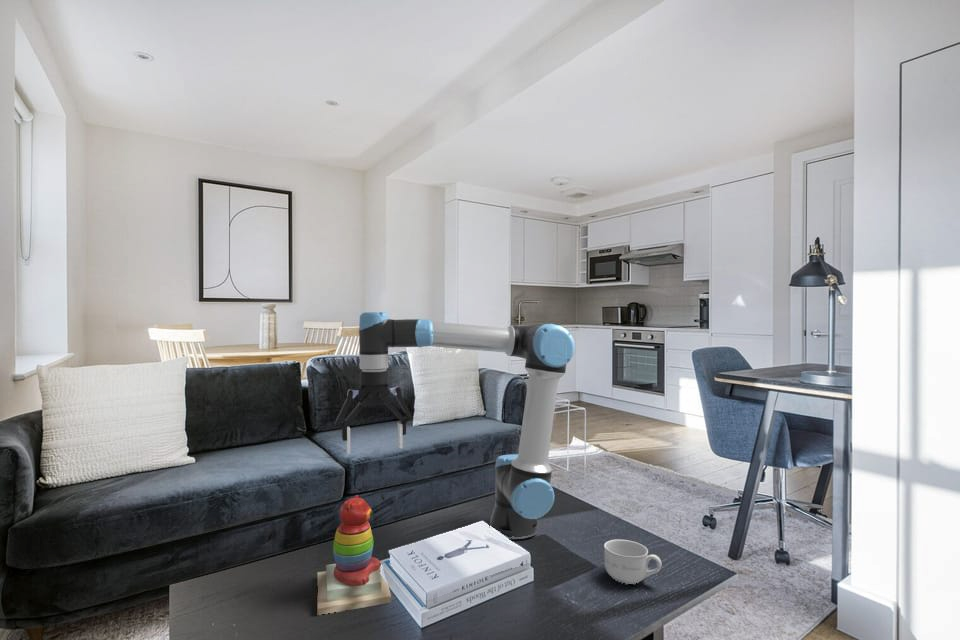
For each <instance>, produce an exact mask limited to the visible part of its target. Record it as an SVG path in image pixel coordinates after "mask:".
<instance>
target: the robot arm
mask: <svg viewBox="0 0 960 640" xmlns="http://www.w3.org/2000/svg"><path fill="white" fill-rule="evenodd" d="M358 337H359V338H358V339H359V340H358V341H359V342H358V344H359V370H361V371H360V372H359V387H358V389H357V390H356V389H350V388H348V390H347V392H346V398H345V400H344V402H343V405H342V407H341V409H340V410H339V412H338V414H337V417H336V418H335V420H334V426H335V427H338V428H340V429H341V440H342V442H346V443H345V445H346V447H345V448H346V450H345V451H346V454H347V455H351V428H350V424H351V423H352V422H353V421H354V420H355V418H356V417H357V416H358V415H359V413H361V411H362V410H363V409H364V408H365V406H368V407H373V406H381V405H383V404H384V405H385V406H386V407H387V408H388V409H389V410H390V411H391V412H392V413H393V415H394V416H396V418H398V420H399V421H398V422H397V447H398V448H399V449H403V448H404V447H403V445H404V444H403V443H404V442H403V437H404V436H406V435H407V424H408V422H410V421H413V419H414V417H413V414H412V413H411V411H410V409H409V407H408V405H407V403H406V402H405V400H404V398H403V396H402V389H401V387H399V386H394V387H391V388H390V387H389V371H388V370H387V369H389V348H424V347H431V348H443V349H444V348H445V349H446V348H447V349H458V350H471V351H483V352H496V353H504V354H506V356H508V357H516V358H521V359H524V360H525V365H524V369H525V371H526V372H527V373H528V380H527V386H526V387H527V389H526V394H525V395H526V396H525V400H524V401H525V402H524V409H523V416H522V417H523V418H522V424H521V429H520V430H521V431H520V437H519V438H520V439H519V445H518V453H517V454H514V453H513V454H504V455H500V456H497V458H496V460H495V466H494V468H495V488H494V490H495V492H494V493H495V494H494V495H495V499H494V500H495V502H494V507H493V510H492V512H491V516H490V519H489V526H490V525H491V526H492V527H493V528H495V529H496V530H498V531H500V532H501V533H502V534H504V535H506V536H508V537H512V536H514V537H522V536H528V535H531V534H533V533H535V532H536V531H537V529H538V530H539V522H538V519H539V518H542V517H543V516H544V515H546V514H547V513H549V511H550V510H551V509H552V507H553V505H554V502H555V492H554V488H553V485H551V481H552V471H553V468H552V466H551V465H550V464H549V463H548V462H549V454H550V446H551V439H552V432H553V426H554V425H553V424H554V418H555V411H556V410H555V409H556V404H557V403H556V402H557V396H558V389H559V381H560V379H561V378H562V377H564V375H566V369H567V364H568V363H569V362H570V361H571V360H572V358H573V357H574V354H575V341H574V338H573V336H572V334H571V333H570V332H569V330H568V329H566V328H564V327H563V326H561V325H558V324H554V323H546V324H545V323H543V324H540V323H536V324H529V325H528V324H527V325H514V324H512V325H508V326H507V327H498V326H488V325H487V326H485V325H475V324H474V325H473V324H464V323H462V324H461V323H450V322H440V321H432V320H430V319H423V318H416V319H413V318H411V319H407V318H406V319H390V317H389V314H388V312H385V311H384V312H383V311H381V312H379V311H378V312H377V311H375V312H374V311H373V312H372V311H370V312H369V311H368V312H367V311H366V312H362V313H361V314H360V315H359V325H358ZM391 394H392V395H393V396H395V398H396V400H397V401H398V403H399V405H400V408H401V409H402V411H403V413H404V415H405V416H404V415H402V414H401V413H400V411H399V410H398V409H397V408H396V407H395V405H393V404H392V402H391V401H390V400H389V399H388V398H389V396H390V395H391ZM357 395H358V397H359V398H360V400H359V402H358V403H357V404H356V406H355V407H354V408H353V409H352V411H351V412H349V414H348V415H347V417H346V414H347V411H348V410H349V408H350V406H351V403H352V400H353V399H355V398H356V397H357ZM344 417H346V418H345V419H344Z"/></svg>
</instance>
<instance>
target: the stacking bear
mask: <svg viewBox="0 0 960 640" xmlns="http://www.w3.org/2000/svg"><path fill="white" fill-rule="evenodd" d="M339 515H340V520H341V521H342V522H341V523H340V524H339V525H338V527H337V529H336V531H335V534H334V539H333V545H332V546H333V547H332V548H333V549H332V550H333V551H332V553H333V554H332V555H333V558H334V562H335V563H334V564H336V567H335V569H334V577H335V578H336V579H337V580H338V581H340V582H342V583H345V584H348V585H354V586H361V585H364V584H366V583H367V582H368V581H369V575H370V574H371V573H372V572H373V571H376V570H378V569H379V568H380V566H381V563H382V562H381V561H380V560H379V559H378V558H376V557H373V556H372V555H373V550H374V536H373V533H372V529H371V525H370V522H369V519H370V518H371V516H372V507H370V505H369V504H368V503H367V502H366V500H365V499H363V498H361V497H360V496H359V495H358V494H356V495H354V496H353V497H352V498H349V499H347V500H345V501H344V502H343V503H342V504H341V506H340V509H339Z"/></svg>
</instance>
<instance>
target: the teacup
mask: <svg viewBox="0 0 960 640" xmlns="http://www.w3.org/2000/svg"><path fill="white" fill-rule="evenodd" d="M603 547H604V567H605V571H606V573H607V574H608V575H609V576H610V577H611V578H612V579H613V580H614V579H615V580H614V581H615V582H617V581H618V582H617V583H620V582H621V583H620V584H623V583H625V584H624V585H628V584H633V585H637V584H639V583H640V582H642V581H643V580H644V579H646V578H649V577H650V576H651V575H654V574H657V573H658V572H659V571H661V569H662V566H663V564H662V560H661V558H660V557H659V556H658V555H656V554H649V549H648V548H647V547H646V546H645V545H644V544H641V543H639V542H636V541H634V540H627V539H618V538H617V539H610V540H608V541H606V542H604V544H603ZM648 554H649V555H648ZM650 560H654V561H655V562H656V564H657V566H656V567H655V568H652V569H649V568H648V566H649V564H650ZM636 583H637V584H636Z"/></svg>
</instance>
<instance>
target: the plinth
mask: <svg viewBox="0 0 960 640" xmlns="http://www.w3.org/2000/svg"><path fill="white" fill-rule="evenodd" d="M335 567H336V563H332V564H331V563H330V564H326V565H325V570H324V571H317V586H318V593H317V594H318V595H317V596H316V597H317V601H316V602H317V615H316V616H317V617H318V615H319V616H323V615H322V614H325V615H329V614H328V613H330V614H335V613H334V612H336V613H341V612H346V610H347V611H351V610H357V609H358V610H359V609H362V608H367V607H368V608H369V607H374V606H380V605H385V604H390V603H392V594H391V590H390V587H389V582H388V581H387V582H388V583H387V582H386V581H385V580H384V579H383V578H382V576H381V574H380V568H379V569H378V570H376V571H373V572H372V573H371V574H370V575H369V581H368V582H367V583H366V584H364V585H361V586H354V585H348V584H345V583H342V582H340V581H338V580H337V579H336V578H335V577H334V569H335Z"/></svg>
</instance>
